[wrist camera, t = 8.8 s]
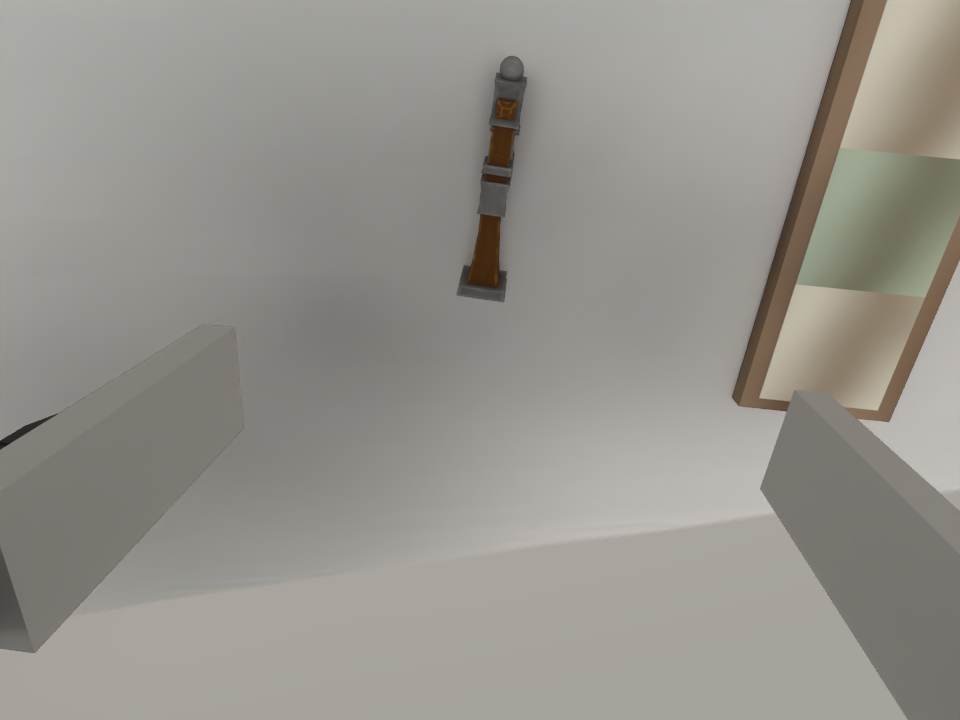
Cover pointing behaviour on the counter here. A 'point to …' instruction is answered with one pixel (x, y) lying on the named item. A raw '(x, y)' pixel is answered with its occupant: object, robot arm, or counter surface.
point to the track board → (867, 218)
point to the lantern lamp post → (495, 185)
